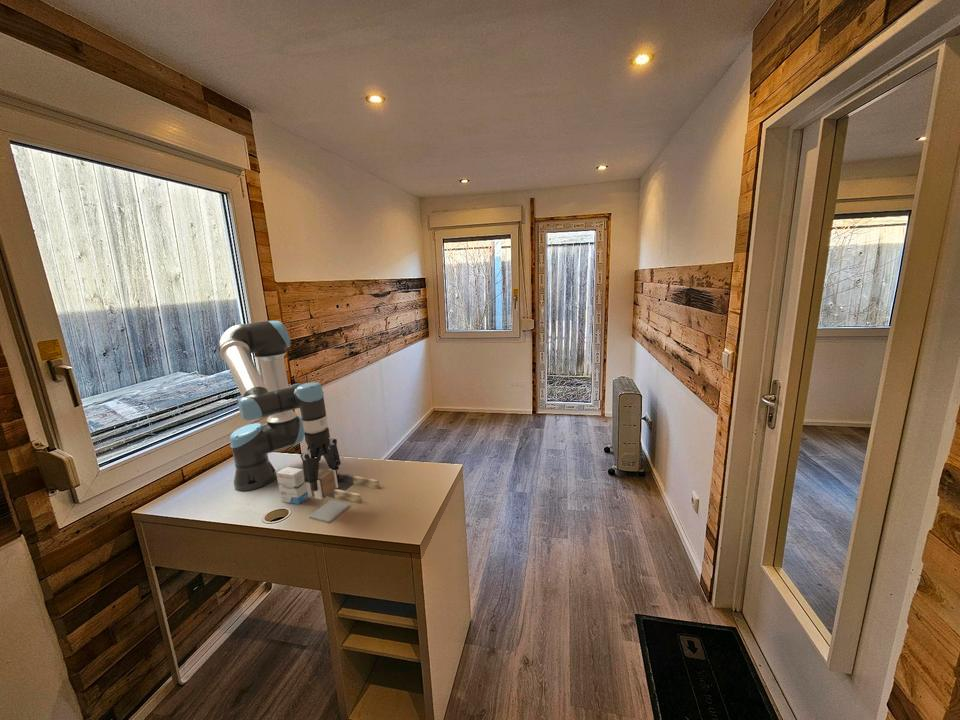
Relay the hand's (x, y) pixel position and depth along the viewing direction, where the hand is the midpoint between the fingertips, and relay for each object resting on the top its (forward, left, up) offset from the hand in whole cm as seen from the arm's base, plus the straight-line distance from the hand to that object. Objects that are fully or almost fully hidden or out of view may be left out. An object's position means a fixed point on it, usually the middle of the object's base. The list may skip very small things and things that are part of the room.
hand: (326, 492), depth 129 cm
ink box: (-19, +2, -8) cm, 21 cm away
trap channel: (-3, +13, -8) cm, 15 cm away
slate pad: (0, 0, -8) cm, 8 cm away
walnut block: (-1, 0, 0) cm, 1 cm away
